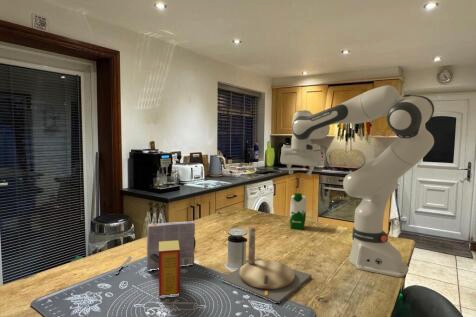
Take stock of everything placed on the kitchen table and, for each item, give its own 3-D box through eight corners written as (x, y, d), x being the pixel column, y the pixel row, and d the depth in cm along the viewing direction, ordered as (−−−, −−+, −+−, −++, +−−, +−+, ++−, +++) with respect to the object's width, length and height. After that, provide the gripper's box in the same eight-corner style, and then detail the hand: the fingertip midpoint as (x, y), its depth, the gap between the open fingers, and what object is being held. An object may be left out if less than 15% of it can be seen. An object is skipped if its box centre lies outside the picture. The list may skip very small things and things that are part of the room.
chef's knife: (137, 256, 135) (130, 256, 134) (137, 253, 134) (130, 253, 134) (122, 276, 116) (114, 275, 115) (122, 273, 115) (114, 272, 115)
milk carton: (288, 229, 175) (289, 193, 173) (290, 224, 184) (291, 191, 182) (304, 230, 172) (305, 195, 171) (305, 226, 181) (306, 192, 180)
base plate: (311, 277, 116) (311, 274, 116) (278, 304, 97) (278, 300, 97) (258, 260, 131) (258, 257, 131) (220, 281, 112) (220, 277, 112)
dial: (289, 264, 124) (290, 226, 123) (299, 289, 104) (300, 244, 103) (239, 263, 124) (240, 225, 123) (239, 288, 104) (240, 243, 103)
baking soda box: (159, 284, 109) (159, 240, 107) (178, 283, 110) (178, 239, 109) (159, 299, 100) (158, 250, 98) (179, 296, 101) (179, 248, 100)
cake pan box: (194, 261, 130) (194, 219, 128) (197, 265, 125) (197, 222, 123) (146, 267, 123) (146, 223, 121) (147, 272, 118) (147, 227, 116)
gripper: (278, 144, 150) (277, 173, 151) (318, 146, 138) (317, 177, 139) (284, 144, 155) (284, 172, 156) (323, 146, 143) (322, 176, 144)
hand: (299, 174), depth 148 cm, fingers open, 8 cm apart
